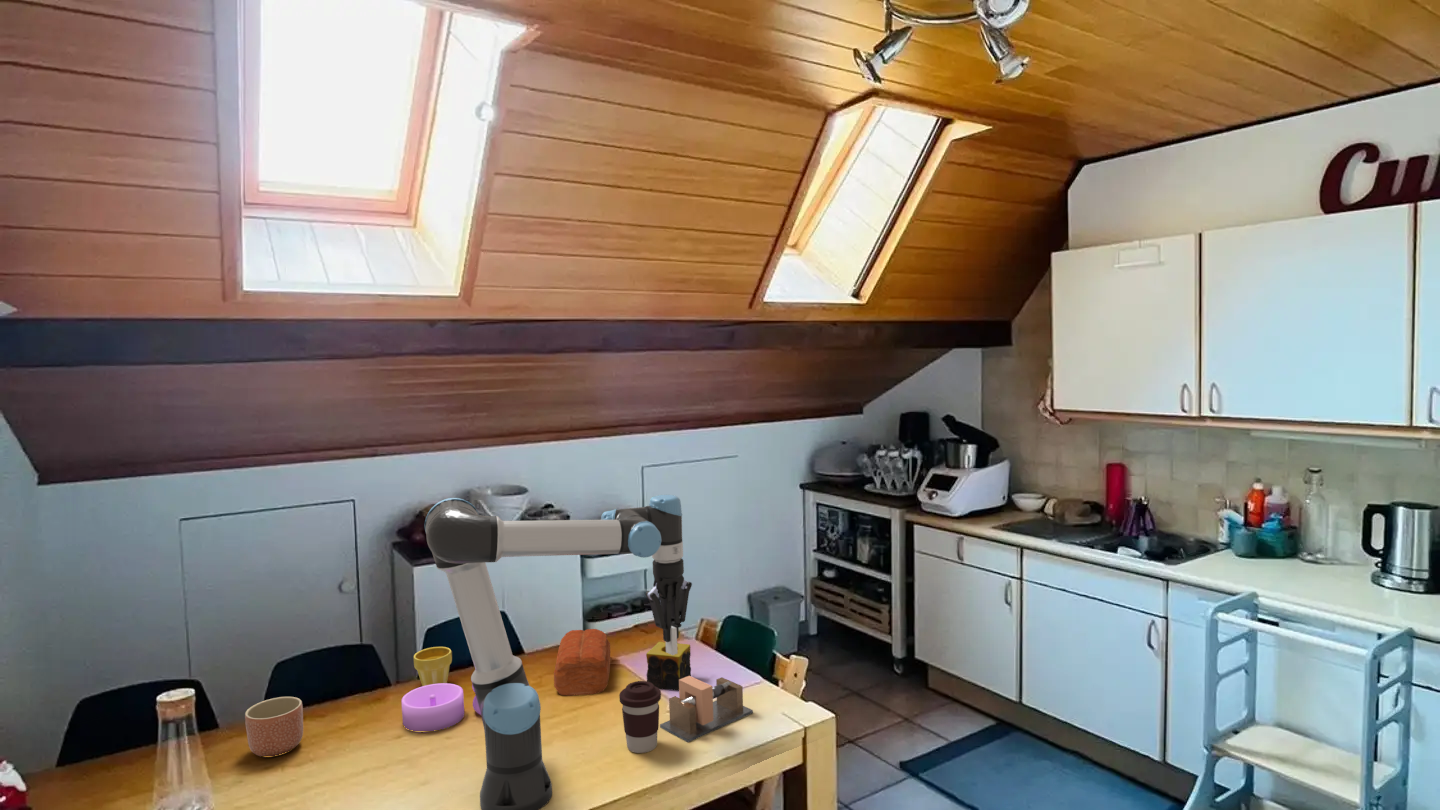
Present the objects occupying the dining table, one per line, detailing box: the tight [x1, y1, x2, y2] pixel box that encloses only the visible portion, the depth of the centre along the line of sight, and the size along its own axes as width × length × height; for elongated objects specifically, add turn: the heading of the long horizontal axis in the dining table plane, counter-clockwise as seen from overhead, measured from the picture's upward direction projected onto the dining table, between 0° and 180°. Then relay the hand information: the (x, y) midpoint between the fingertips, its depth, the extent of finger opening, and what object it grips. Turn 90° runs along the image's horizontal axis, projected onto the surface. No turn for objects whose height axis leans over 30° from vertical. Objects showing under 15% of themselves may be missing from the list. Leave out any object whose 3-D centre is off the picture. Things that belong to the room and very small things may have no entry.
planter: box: [244, 696, 304, 757], centre depth 203 cm, size 12×12×11 cm
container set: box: [400, 682, 481, 732], centre depth 219 cm, size 25×15×13 cm, turn 105°
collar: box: [678, 675, 714, 725], centre depth 210 cm, size 4×9×9 cm, turn 42°
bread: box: [553, 628, 611, 697], centre depth 243 cm, size 16×27×11 cm, turn 6°
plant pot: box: [413, 646, 453, 687], centre depth 239 cm, size 10×10×10 cm
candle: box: [645, 641, 692, 692], centre depth 237 cm, size 10×10×10 cm
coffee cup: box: [618, 680, 662, 754], centre depth 200 cm, size 10×10×15 cm
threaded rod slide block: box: [659, 677, 754, 743], centre depth 213 cm, size 22×11×8 cm, turn 132°
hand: (671, 652), depth 204 cm, fingers closed
